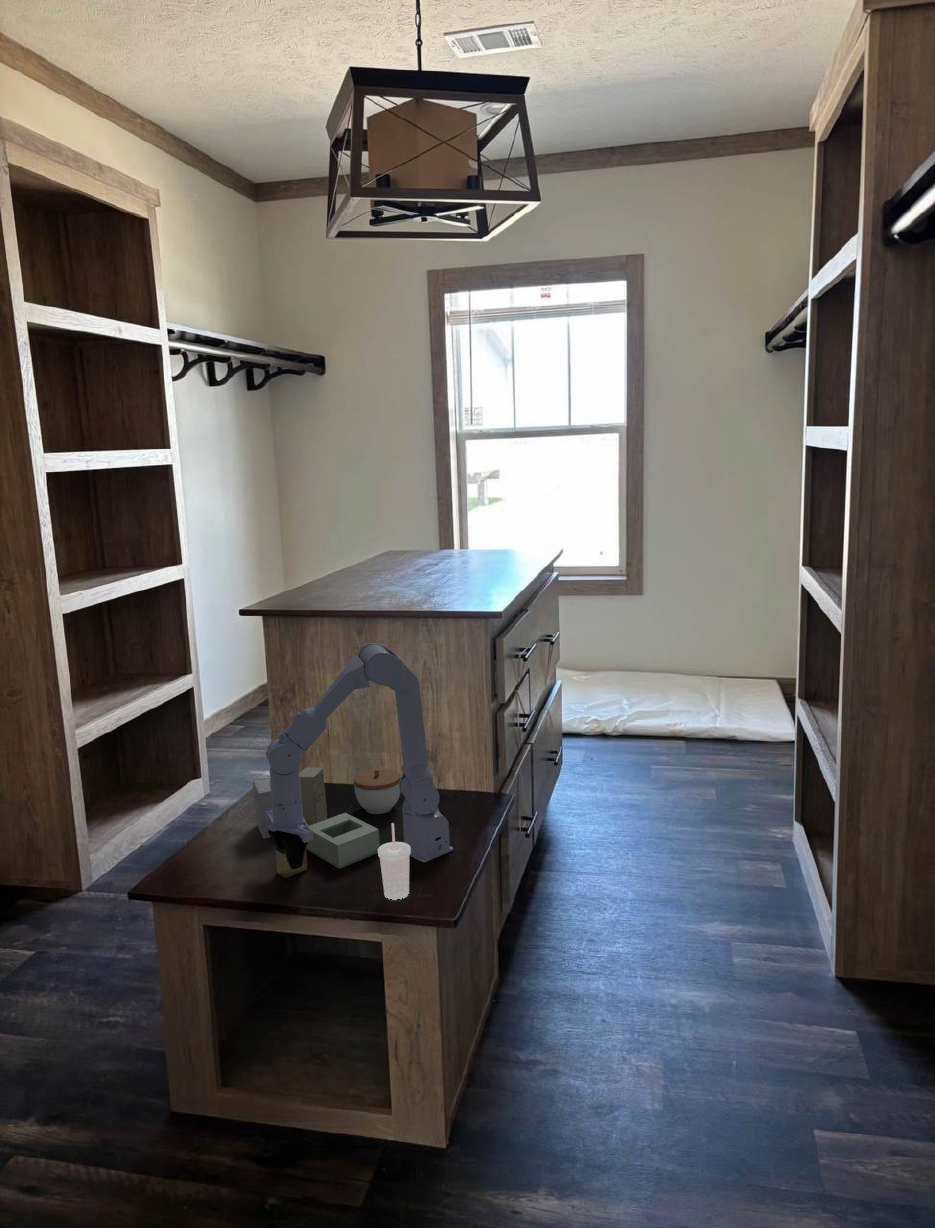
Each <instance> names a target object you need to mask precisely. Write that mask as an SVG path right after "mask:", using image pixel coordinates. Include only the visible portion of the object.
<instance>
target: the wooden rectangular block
mask: <svg viewBox="0 0 935 1228" xmlns="http://www.w3.org/2000/svg"><path fill="white" fill-rule="evenodd" d="M275 857H276V859H275V860H276V871H277V874H279V875H280V876H281V877H282V878H284V879H287V878H289V877H291V876H295V875H297V874H299V873H301V872H305V871H307V870H308V859H307V848H306V849H305V853H304V858H303V863H302V867H299V868H297V869H294V870H293V869H291V866H290V863H289V857H288V853H287V850H286V847H285V846H284V847H281V848H278V849H277V848H275Z"/></svg>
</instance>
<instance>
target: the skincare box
mask: <svg viewBox="0 0 935 1228" xmlns="http://www.w3.org/2000/svg"><path fill="white" fill-rule="evenodd" d="M298 774H299V775H300V785H301V798H302V810H303V818H304V819H305V821H306V823H307V825H308V826H310V825H313V824H316V823H318V822H321V821H324V820H327V819H328V808H327V801H326V799H327V797H326V788H325V787H326V786H325V775H324V774H325V772H324V767H314V766H313V767H307V766H306V767H304V768H303V769H302V770H301V771H299V772H298Z"/></svg>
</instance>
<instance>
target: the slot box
mask: <svg viewBox="0 0 935 1228" xmlns="http://www.w3.org/2000/svg"><path fill="white" fill-rule="evenodd" d="M309 828H310V829H311V830H313V840H311V841H309V842H308V844H307V846H306V851H308V852H309V853H311V854H313V855H315V856H316V857H318V858H320V859H322V860H324V862H327V863H328V864H330V865H332V866H333V867H335V868H337V869H343V868H345V867H347V866H350V865H352V864H355V863H357V862H360V861H362V860H365V859H367V858H370V857H372V856H375V855H377V854H378V848H379V847H380V846H381V845H380V830H379V828H377V827H375V826H373V825H371V824H369V823H367V822H365V821H363V820H361V819H359V818H357V817H355V816H353V815H350V814H348V813H347V812H343V813H341V814H337V815H336V816H332V817H330V818H327V820H324V821H321V822H318V823H316V824H313V825H310V826H309Z"/></svg>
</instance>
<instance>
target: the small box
mask: <svg viewBox="0 0 935 1228" xmlns="http://www.w3.org/2000/svg"><path fill="white" fill-rule="evenodd" d="M252 786H253V798H254V806H255V809H254V810H255V816H256V817H255V818H256V827H257V828H258V830H259V833H260V835H261V837H262V839H264V840H265V839H270V838H271V836H270V835H269V834H268V830H269V825H271V822H268V821H266V813H265V812H267V811H270V810H272V799H271V788H270V777H269V778H264V779H258V780H253V781H252Z"/></svg>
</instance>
